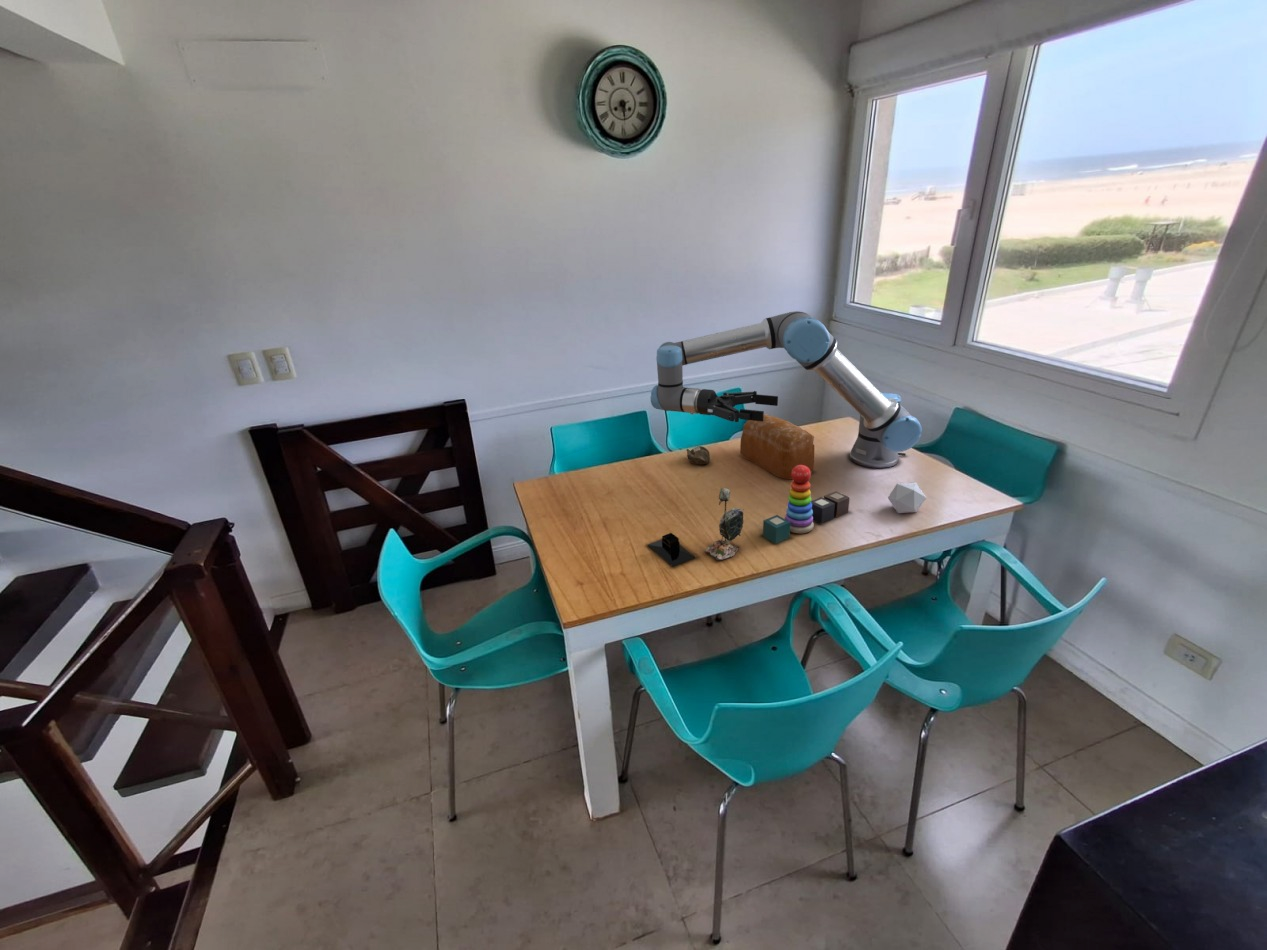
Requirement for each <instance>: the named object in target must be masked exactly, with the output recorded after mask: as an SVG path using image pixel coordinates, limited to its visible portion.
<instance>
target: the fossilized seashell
mask: <svg viewBox="0 0 1267 950" xmlns="http://www.w3.org/2000/svg"><path fill="white" fill-rule="evenodd" d="M686 458H687V460H689V462H690V463H692V464H695V465H699V466H700V465H703V466H704V465H707V464H710V460H711V456H710V451H709V450H708V449H707V448H706V447H704V446H701V445H699V446H695V447H693V448H692V449H690V448H687V449H686Z"/></svg>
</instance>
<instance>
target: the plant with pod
mask: <svg viewBox="0 0 1267 950" xmlns="http://www.w3.org/2000/svg"><path fill="white" fill-rule="evenodd" d="M730 498H731V490H730V488H727V487H723V488H720V490H719V495H718V500H719V502H718V505H719V506H720V505H721V503H723V502H724V513H723V515H721V516H722V517H720V521H719V524H718V530H719V535H720V536H721V539H720V540H716V541H714V542H712V543H711V544H710V545H708V547H707V548H706V549H705V550H704V551H705V552H706V553H708V554H709V555H711V556H712V557H713V558H715V560H716V561H722V560H726V559H728V558H731V557H734V556H735V555H736V554H737V552H738V551H739V548H740V547H739V546H735V545H734V544H731V542H732V541H734V540H735V539H736V538H737V537H738V536H739V537H741V536H742V535H741V532H742V529H743V528H744V527H743V526H744V511H745V509H741V508H738V507H733V508H731V509H728V510H727V503H728V501H729V500H730Z"/></svg>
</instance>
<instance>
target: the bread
mask: <svg viewBox="0 0 1267 950" xmlns="http://www.w3.org/2000/svg"><path fill="white" fill-rule="evenodd" d="M814 439H815V436H814V435H813V434H811V433H810V432H809V431H808V430H805V429H803V428H802V427H800V426H798V425H796V424H794V423H792V422H791V421H788V420H786V419H782V418H780V417H776V416H773V415H770V414H768V413H767V414H766V413H764V421H763V422H762V421H753V420H746V422H745V423H744V424H743V426H742V433H741V436H740V449H739V450H740V451H739V452H740V455H741V456H742V457H743V458H745V459H746V460H748V461H750V462H751V463H754V464H755V465H758V466H759V467H760V468H762V469H764V470H766V471H767V472H769V473H770V474H773V475H774V476H776V477H778V478H781V479H784V480H793V479H792V477H791V472H792V469H793V468H794V467H795V466H797V465H805V466H807V467H808V468H809V469H810V472H811V473H812V472H813V471H814V467H815V466H814V465H815V444H814Z"/></svg>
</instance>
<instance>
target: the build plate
mask: <svg viewBox="0 0 1267 950" xmlns="http://www.w3.org/2000/svg"><path fill="white" fill-rule="evenodd" d="M647 547H648V548H650V549H651V550H652V551H653V552H654V553H656V554H657V555H658V556H659V557H660V558H661V559H663V561H665V562H666V563H667V564H669V565H670V567H672V568H675V567H677V566H680V565H682V564H685V563H687V562H690V561H692V560H694V559H696V556H695V555H694V554H692V553H691V552H690V551H688V550H687V549H686V548H685V547H683V546H682V545H681V544H680V539H679V537H677V536H676V535H675V534H673V532H669V533H667V534H664V535H662V536H661V539H659V540H656V541H654V542H651V543H649V544H647Z"/></svg>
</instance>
